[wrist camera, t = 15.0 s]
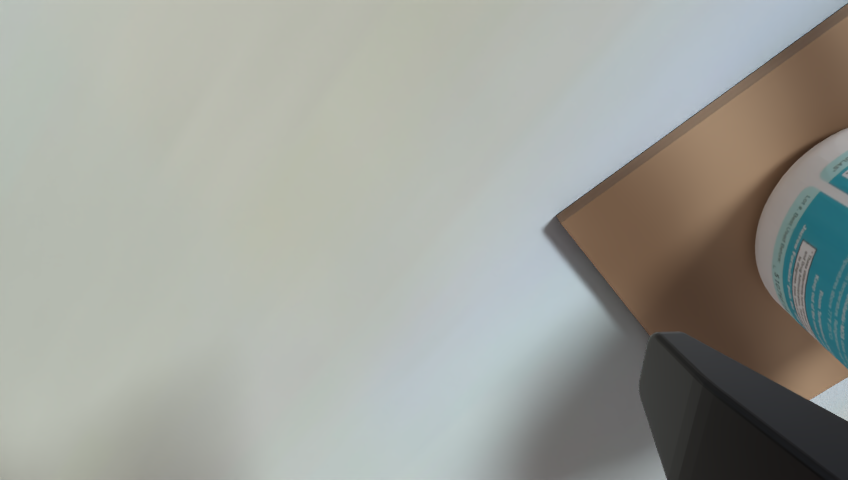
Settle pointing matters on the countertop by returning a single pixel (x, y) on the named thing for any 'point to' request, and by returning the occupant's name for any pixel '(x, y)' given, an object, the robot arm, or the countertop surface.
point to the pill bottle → (810, 243)
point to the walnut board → (722, 213)
